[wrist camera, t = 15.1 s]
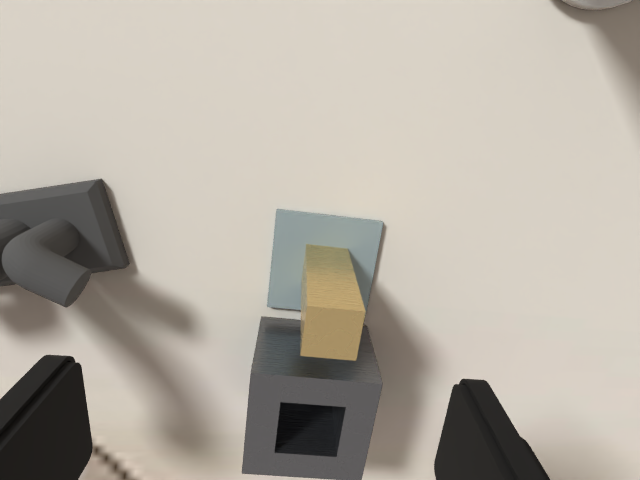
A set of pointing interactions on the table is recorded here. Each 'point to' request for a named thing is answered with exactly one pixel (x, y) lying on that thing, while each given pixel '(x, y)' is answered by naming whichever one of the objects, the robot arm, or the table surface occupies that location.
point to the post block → (308, 407)
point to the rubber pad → (322, 231)
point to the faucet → (58, 239)
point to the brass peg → (330, 304)
